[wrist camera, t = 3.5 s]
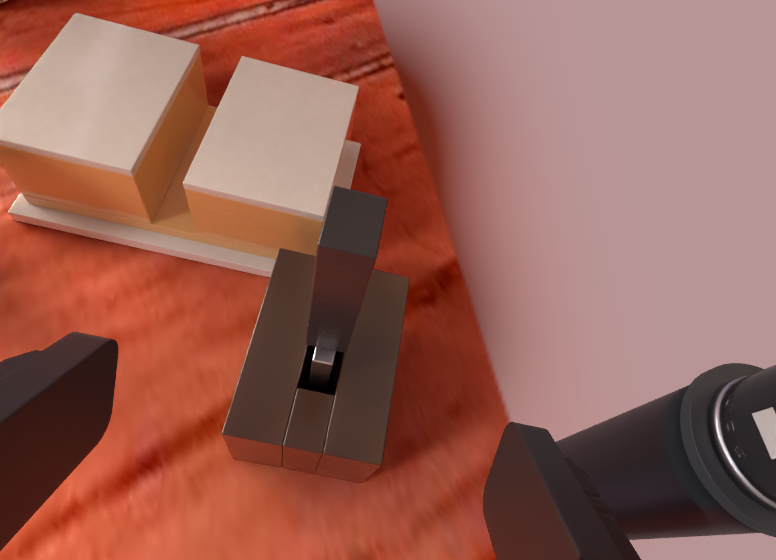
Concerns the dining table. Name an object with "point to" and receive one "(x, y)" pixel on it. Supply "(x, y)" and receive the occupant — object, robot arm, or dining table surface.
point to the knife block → (309, 408)
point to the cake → (175, 148)
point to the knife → (341, 275)
